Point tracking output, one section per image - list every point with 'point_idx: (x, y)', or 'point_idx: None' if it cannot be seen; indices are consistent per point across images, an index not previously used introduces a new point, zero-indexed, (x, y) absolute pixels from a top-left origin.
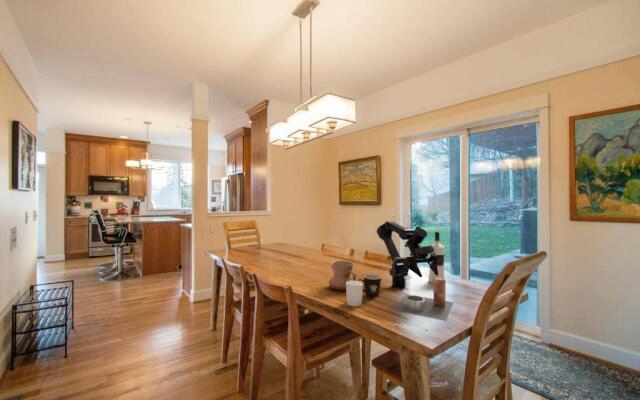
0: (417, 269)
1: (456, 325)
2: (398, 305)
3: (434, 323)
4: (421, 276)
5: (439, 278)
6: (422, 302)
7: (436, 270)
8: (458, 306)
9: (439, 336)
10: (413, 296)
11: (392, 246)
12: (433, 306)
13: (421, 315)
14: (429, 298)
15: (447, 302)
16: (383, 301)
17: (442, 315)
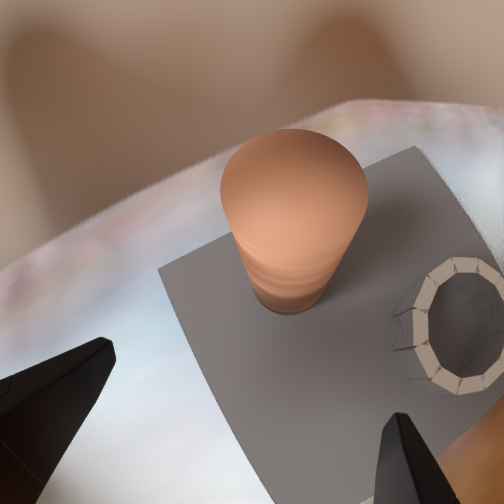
0: (456, 502)
1: (387, 123)
2: (491, 393)
3: (454, 175)
4: (405, 413)
5: (260, 209)
6: (462, 259)
7: (64, 370)
8: (169, 240)
9: (485, 122)
10: (446, 370)
11: None
12: (336, 287)
13: (478, 232)
14: (226, 403)
15: (190, 287)
16: (474, 495)
17: (391, 180)
